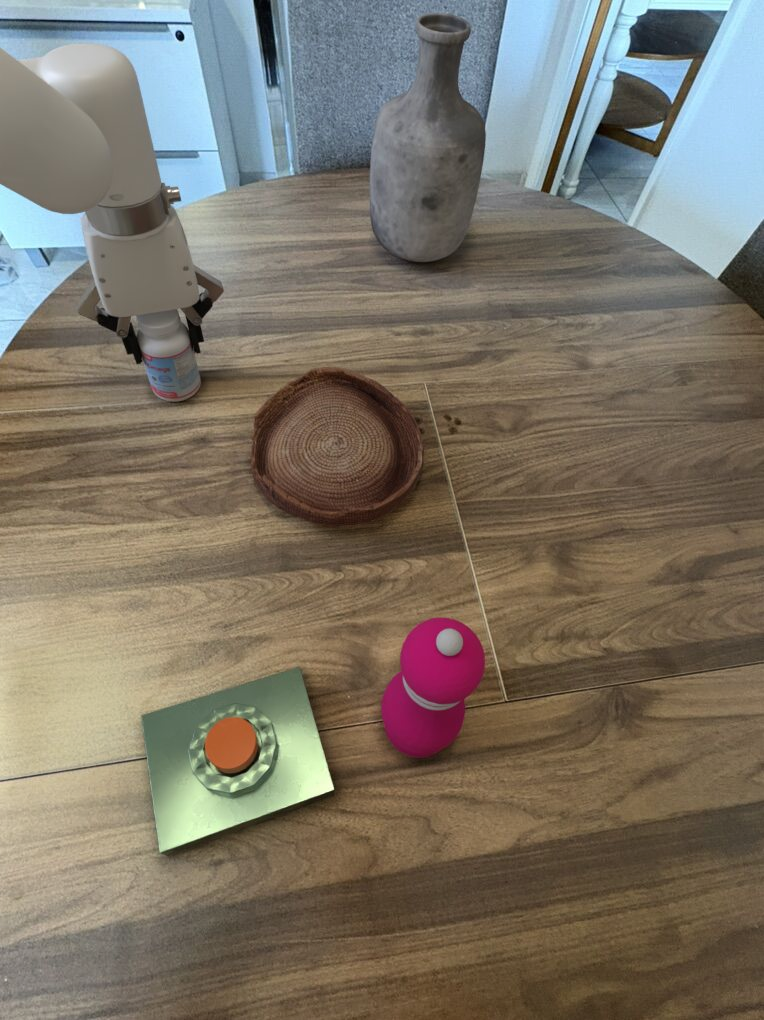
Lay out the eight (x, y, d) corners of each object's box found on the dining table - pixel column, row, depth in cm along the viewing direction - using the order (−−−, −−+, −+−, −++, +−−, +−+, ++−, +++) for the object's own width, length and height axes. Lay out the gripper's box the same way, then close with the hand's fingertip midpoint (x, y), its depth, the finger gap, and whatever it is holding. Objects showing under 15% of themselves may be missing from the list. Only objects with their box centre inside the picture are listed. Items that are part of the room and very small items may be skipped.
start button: (213, 780, 49) (210, 776, 47) (204, 731, 51) (200, 725, 49) (263, 763, 50) (261, 758, 48) (252, 716, 52) (249, 710, 50)
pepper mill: (366, 744, 55) (379, 665, 39) (394, 672, 59) (418, 572, 43) (442, 777, 54) (489, 709, 37) (466, 701, 58) (518, 610, 41)
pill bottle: (142, 389, 78) (116, 316, 68) (177, 363, 81) (157, 290, 72) (177, 411, 76) (155, 339, 67) (212, 383, 79) (195, 311, 70)
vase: (345, 243, 99) (350, 13, 74) (416, 210, 105) (441, -10, 81) (415, 292, 93) (445, 60, 68) (485, 254, 99) (536, 31, 75)
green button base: (167, 856, 49) (153, 850, 45) (148, 723, 55) (135, 708, 51) (334, 795, 53) (334, 785, 49) (301, 676, 58) (298, 659, 55)
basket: (239, 402, 78) (234, 373, 73) (392, 382, 81) (395, 353, 77) (266, 553, 66) (262, 528, 61) (444, 520, 69) (451, 495, 65)
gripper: (209, 175, 63) (232, 319, 78) (27, 195, 59) (88, 343, 74) (223, 215, 59) (245, 358, 74) (30, 239, 55) (94, 386, 70)
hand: (167, 349), depth 73 cm, fingers closed on pill bottle, 6 cm apart
